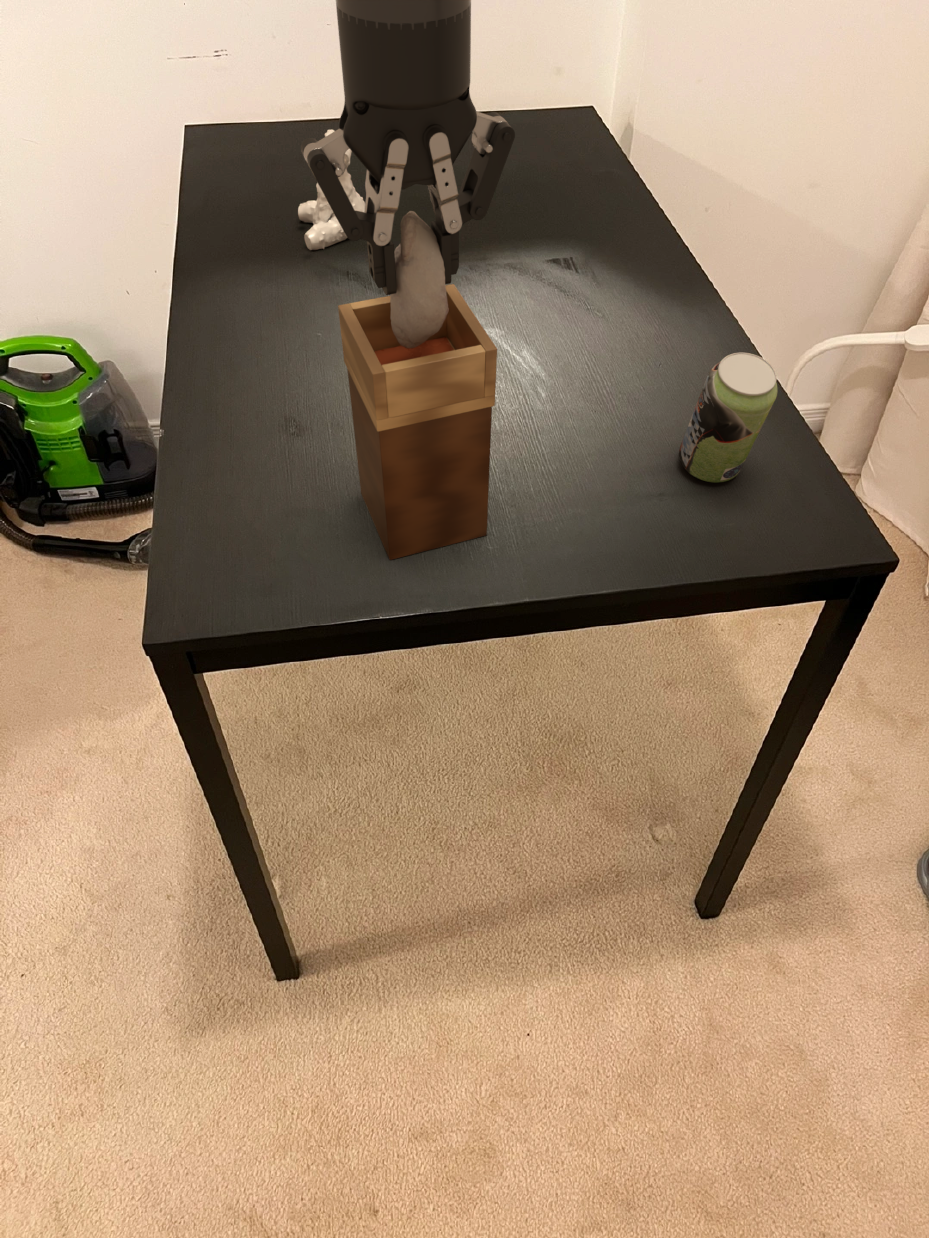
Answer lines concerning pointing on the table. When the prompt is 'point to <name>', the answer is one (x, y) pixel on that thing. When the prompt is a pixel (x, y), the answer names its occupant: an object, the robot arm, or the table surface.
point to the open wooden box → (418, 364)
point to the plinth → (424, 478)
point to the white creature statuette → (328, 212)
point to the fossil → (418, 284)
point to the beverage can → (728, 417)
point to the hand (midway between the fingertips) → (415, 282)
